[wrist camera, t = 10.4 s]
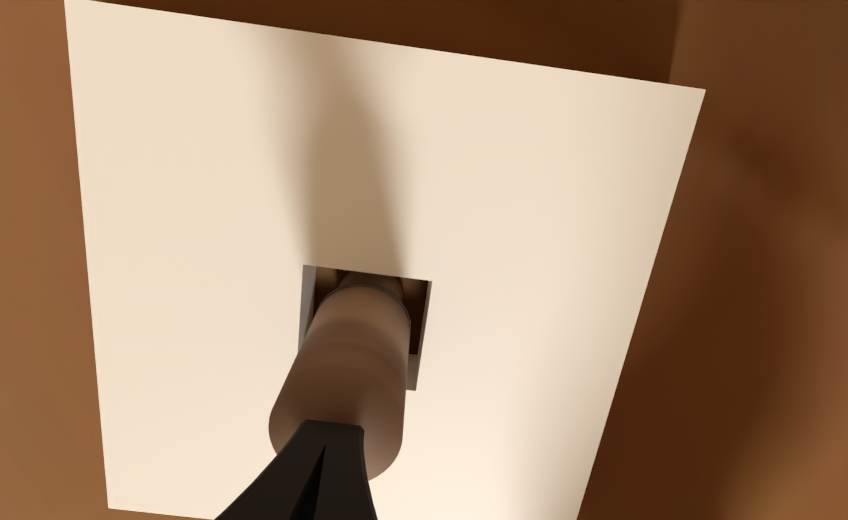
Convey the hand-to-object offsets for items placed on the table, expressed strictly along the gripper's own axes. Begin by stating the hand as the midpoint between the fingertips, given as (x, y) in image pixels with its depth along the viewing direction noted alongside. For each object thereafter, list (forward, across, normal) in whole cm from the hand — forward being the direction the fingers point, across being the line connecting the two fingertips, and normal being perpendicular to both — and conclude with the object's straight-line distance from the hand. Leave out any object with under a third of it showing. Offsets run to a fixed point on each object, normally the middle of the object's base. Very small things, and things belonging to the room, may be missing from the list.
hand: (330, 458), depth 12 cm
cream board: (+9, 0, 0) cm, 9 cm away
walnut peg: (+9, 0, 0) cm, 9 cm away
